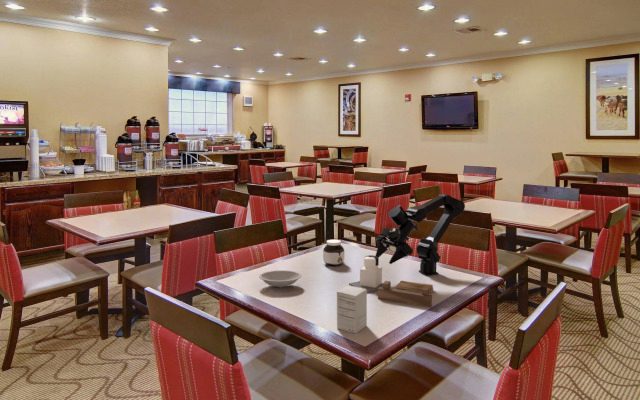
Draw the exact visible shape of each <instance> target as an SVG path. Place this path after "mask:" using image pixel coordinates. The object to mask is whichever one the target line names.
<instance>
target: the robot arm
mask: <svg viewBox="0 0 640 400" xmlns="http://www.w3.org/2000/svg"><path fill="white" fill-rule="evenodd" d="M442 206H443V214H442V215H441V216H440V219H439V220H438V221H437V223H436V224H435V226H434V228H433V229H432V231H431V232H430V234H429V236H427V237H426V238H424V237H422V238H421V239H420V241H419V242H418V243H417V247H416V248H415V249H416V250H415V251H416V254H417V256H418V259H420V265H419V266H420V267H419V270H418V272H419V273H421V274H423V275H425V276H431V275H432V276H433V275H439V272H438V271H437V263H438V262H440V259H441V255H440V254H439V253H438V250H439V246H438V245H439V241H440V240H441V239H442V237H443V236H444V234H445V233H446V231H447V229H448V228H449V226H450V225H451V224H452V221H453V220H454V219H455V218H457V217H459V216H460V215H461V214H462V213H463V212H464V210H465V209H466V204H465V202H464V200H463V199H457V198H455V197H453V196H451V195H449V194H447V193H446V194H445V193H440V194H438V195H437V196H435V197H433V198H432V199H430V200H428V201H426V202H425V203H424V202H423V204H419V205H414V206H411V207H408V208H407V209H406V210H405V209H404V207H403V206H402V205H397V206H396V207H393V208H392V209H391V210H389V211H388V214H387V215H388V217H389V218H390V219H391V221H392V222H393V223H394V225H396V226H398V227H397V228H396V227H393V228H388V227H383V229H382V231H381V234H379V235H377V236H376V238H375V241H376V243H377V249H376V253H375V256H376V257H378V258H380V257H381V256H383V255H384V253H385V252H387V251H388V248H390V247H393V248H395V252H394V253H393V255H392V256H391V258H390V260H389V262H388V263H389V264H390V265H392V264H393V263H396V262H398V261H399V260H401V259H403V258H406V257H408V256H412V255H413V252H414V249H413V248H412V246H410V244H409V243H408V242H406V241H409V239H410V238H409V236H410V234H411V233H412V231H418V225H417V223H422V221H424V220H425V219H427V217H428V214H430V213H432V212H434V211H435V210H437V209H439V208H440V207H442ZM414 222H416V223H414Z"/></svg>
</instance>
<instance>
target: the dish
mask: <svg viewBox="0 0 640 400" xmlns="http://www.w3.org/2000/svg"><path fill="white" fill-rule="evenodd" d="M258 278H259V279H260V280H262V281H263V282H264V283H265V284H267V285H269V286H271V287H277V288H279V287H282V288H284V287H288V286H291V285H293V284H295V283H296V282H297V281H298V280H299V279H301V278H302V273H300V272H297V271H292V270H271V271H265V272H262V273H259V275H258Z"/></svg>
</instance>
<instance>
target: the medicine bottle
mask: <svg viewBox="0 0 640 400" xmlns="http://www.w3.org/2000/svg"><path fill="white" fill-rule="evenodd" d="M379 258H380V257H379ZM379 258H378V257H376V255H371V254H370V255H365V256H363V267H362V268H360V270H359V281H360V286H366V287H372V288H376V287H378V286H379V285H380V284H381V283H383V267H382V266H379V261H380V260H379Z"/></svg>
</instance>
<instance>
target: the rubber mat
mask: <svg viewBox="0 0 640 400" xmlns="http://www.w3.org/2000/svg"><path fill="white" fill-rule="evenodd" d="M383 283H384V282H382V283H381V284H380V285H379V286H378V287H376V288H372V287H366V286H360V280H359V281H353V282H349V283H348V285H349V286H354V287H359V288H363V289H367V294H369V293H373V292H374V293H375V292H378V288H379V287H383Z"/></svg>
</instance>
